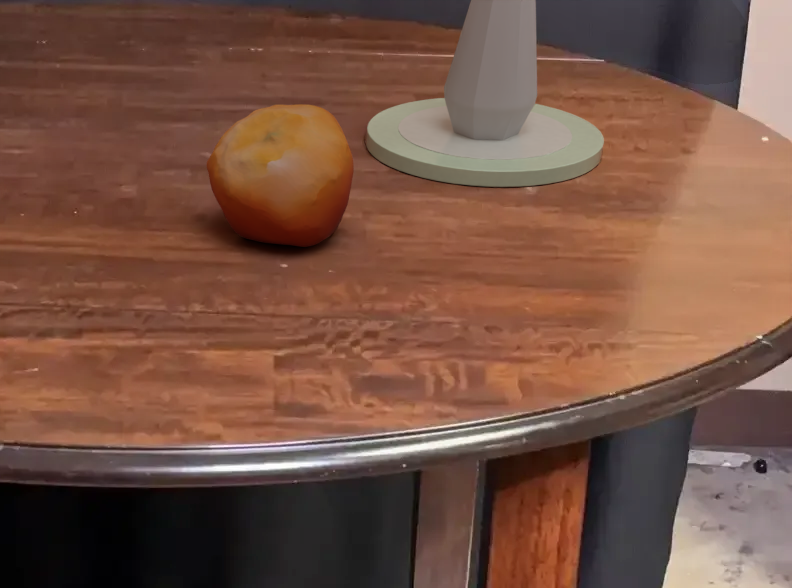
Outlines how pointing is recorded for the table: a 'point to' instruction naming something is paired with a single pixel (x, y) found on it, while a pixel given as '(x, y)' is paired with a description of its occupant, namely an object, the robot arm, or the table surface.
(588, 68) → the table surface
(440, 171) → the plate
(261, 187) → the fruit
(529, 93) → the salt shaker
